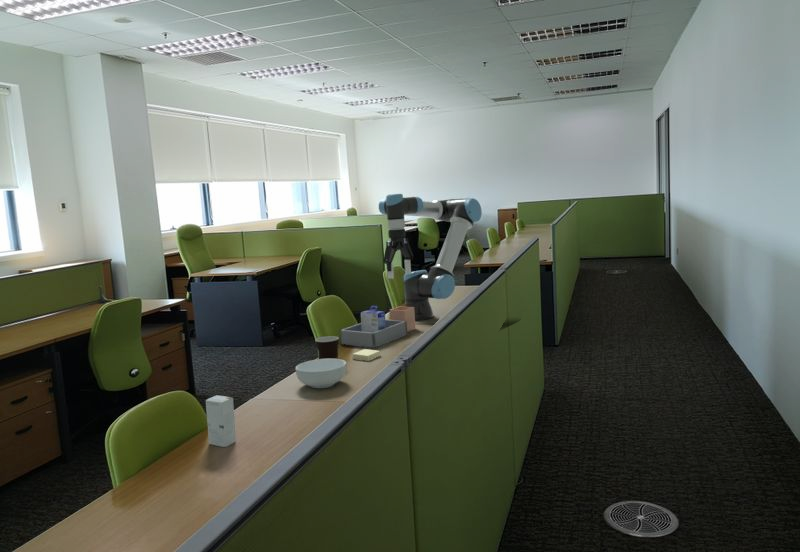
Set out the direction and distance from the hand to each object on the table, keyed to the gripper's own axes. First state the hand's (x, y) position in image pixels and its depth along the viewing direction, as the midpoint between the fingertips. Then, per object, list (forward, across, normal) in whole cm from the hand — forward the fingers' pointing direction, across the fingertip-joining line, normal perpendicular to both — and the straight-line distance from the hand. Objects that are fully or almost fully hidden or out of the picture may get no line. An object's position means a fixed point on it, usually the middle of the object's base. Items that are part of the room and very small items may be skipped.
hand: (399, 276), depth 278 cm
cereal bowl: (+25, +77, +20) cm, 83 cm away
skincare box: (+25, +126, +29) cm, 132 cm away
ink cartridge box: (+25, +19, -2) cm, 31 cm away
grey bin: (+25, +19, -2) cm, 31 cm away
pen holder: (+25, 0, 0) cm, 25 cm away
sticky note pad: (+25, +44, +13) cm, 52 cm away
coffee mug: (+25, +57, +6) cm, 62 cm away
